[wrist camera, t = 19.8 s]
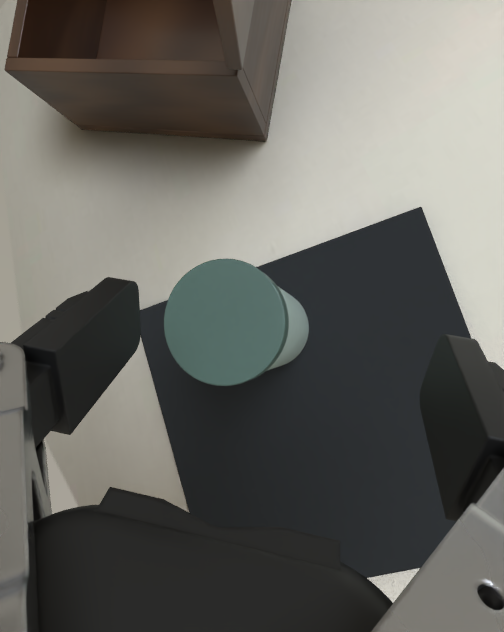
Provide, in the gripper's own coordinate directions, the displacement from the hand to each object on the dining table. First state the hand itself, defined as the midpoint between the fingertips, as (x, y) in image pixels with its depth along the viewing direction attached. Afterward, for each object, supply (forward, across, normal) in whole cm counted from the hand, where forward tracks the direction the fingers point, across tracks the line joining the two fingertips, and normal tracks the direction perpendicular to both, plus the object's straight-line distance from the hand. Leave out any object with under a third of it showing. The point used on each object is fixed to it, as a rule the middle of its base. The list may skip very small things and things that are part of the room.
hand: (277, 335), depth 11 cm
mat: (+11, -2, +12) cm, 17 cm away
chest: (+25, +11, -7) cm, 28 cm away
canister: (+14, +1, +8) cm, 16 cm away
